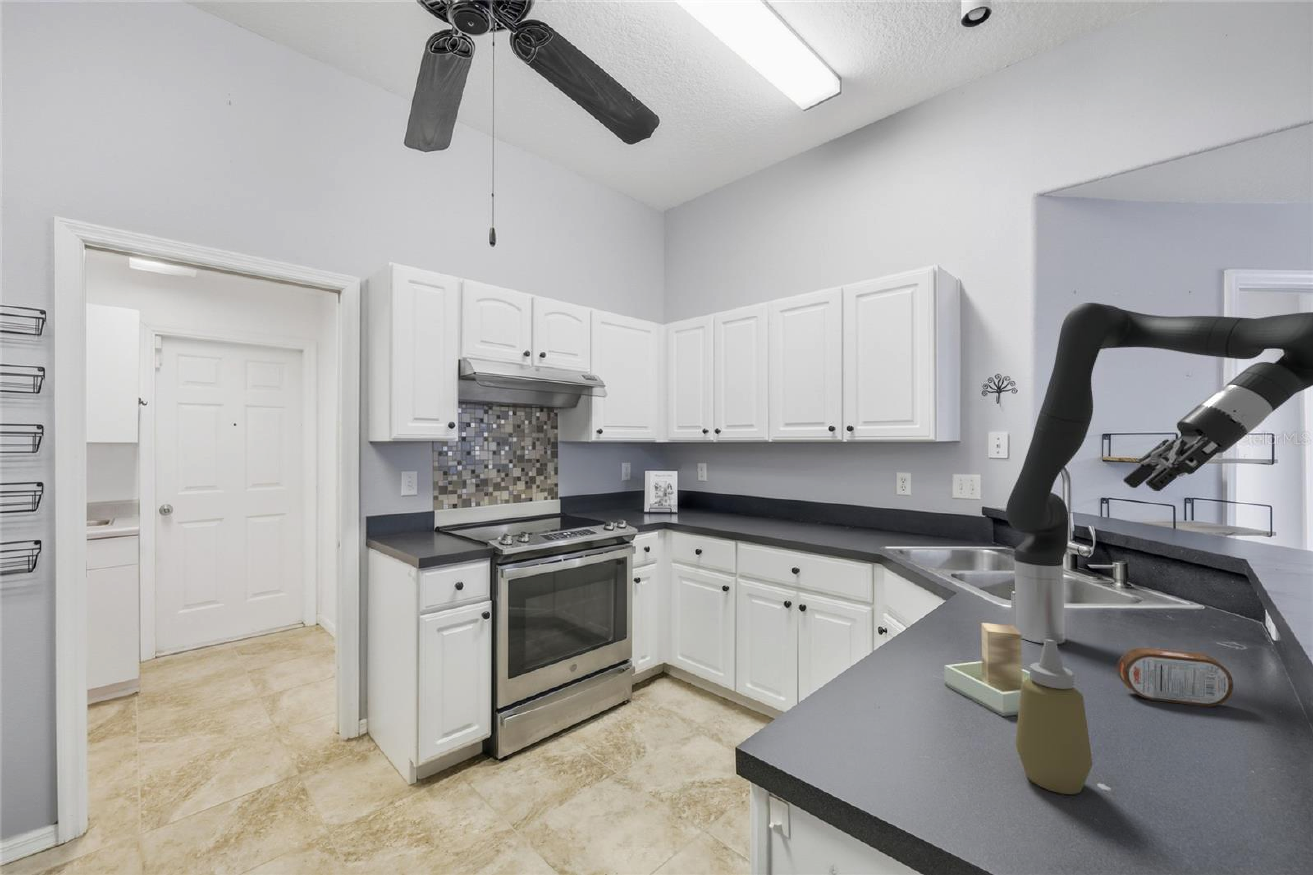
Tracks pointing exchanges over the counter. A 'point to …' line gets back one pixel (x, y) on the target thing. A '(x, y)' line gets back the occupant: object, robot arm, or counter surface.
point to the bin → (982, 688)
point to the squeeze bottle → (1053, 726)
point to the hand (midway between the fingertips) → (1139, 485)
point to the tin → (1175, 676)
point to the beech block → (1001, 657)
